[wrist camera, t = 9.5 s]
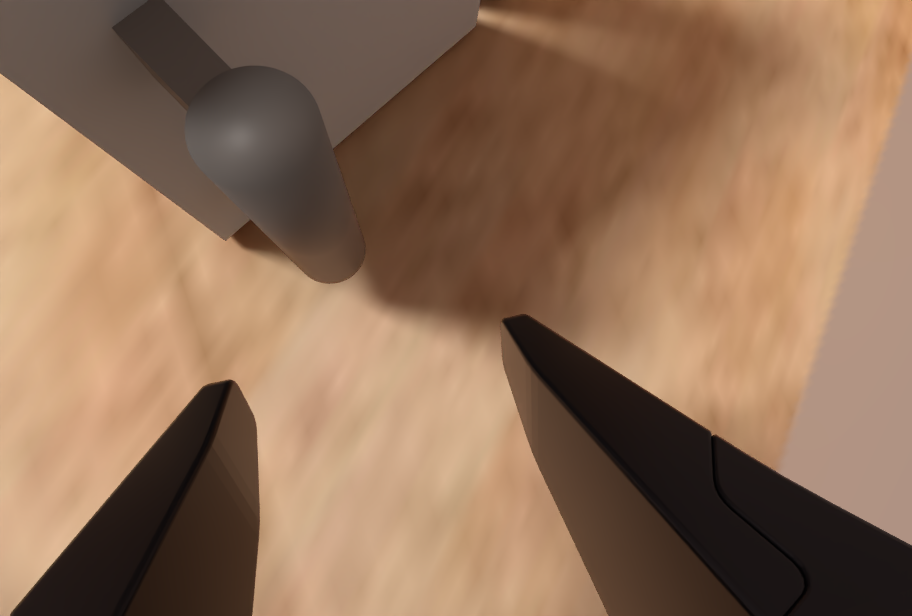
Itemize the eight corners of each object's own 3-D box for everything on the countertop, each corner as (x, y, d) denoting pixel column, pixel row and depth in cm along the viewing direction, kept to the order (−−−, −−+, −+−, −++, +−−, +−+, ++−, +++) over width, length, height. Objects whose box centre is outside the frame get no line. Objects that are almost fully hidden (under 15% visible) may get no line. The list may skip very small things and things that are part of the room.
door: (555, 105, 20) (882, -521, 6) (311, 330, 18) (-25, 164, 4) (454, 5, 20) (546, -818, 6) (202, 217, 18) (-464, -301, 4)
